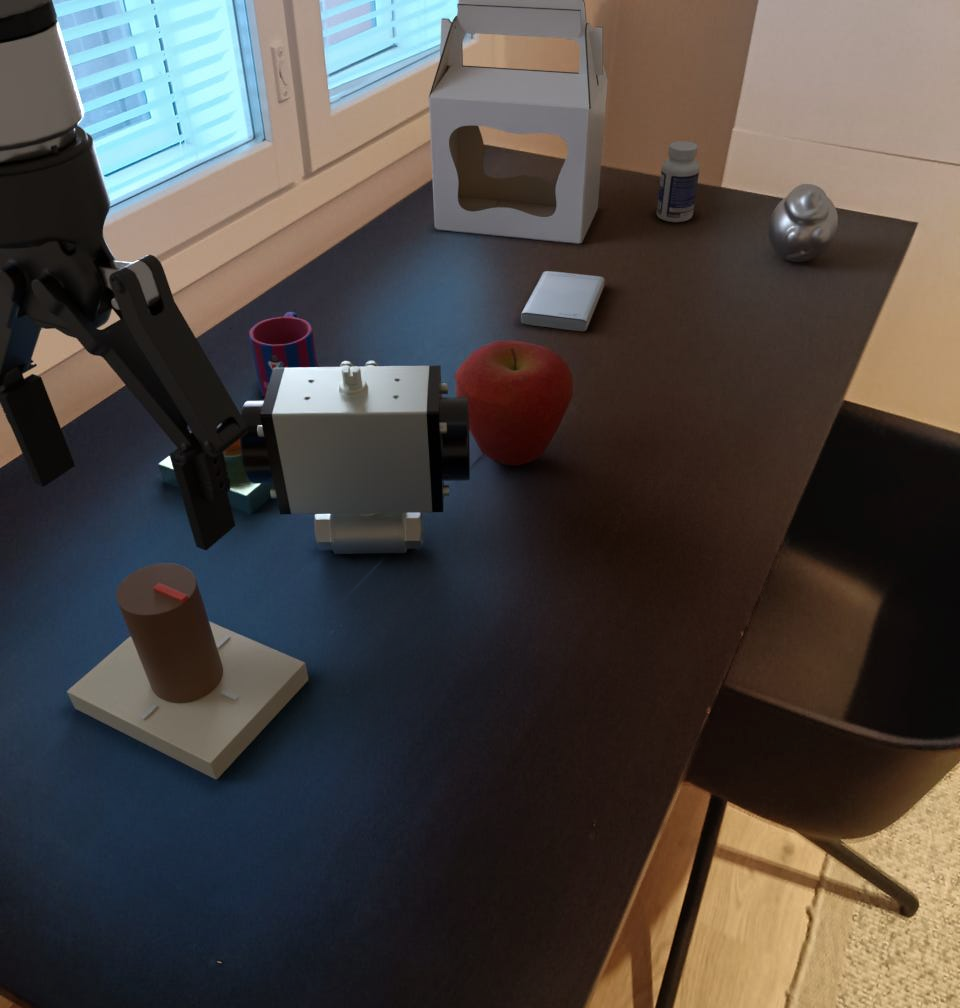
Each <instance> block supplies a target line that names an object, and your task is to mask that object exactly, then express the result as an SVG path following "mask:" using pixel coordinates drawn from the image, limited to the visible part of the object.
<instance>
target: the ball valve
mask: <svg viewBox="0 0 960 1008" xmlns="http://www.w3.org/2000/svg"><path fill="white" fill-rule="evenodd" d="M441 368H442V367H441V365H388V366H387V365H384V366H382V365H380V366H379V364H378V362H376V361H375V360H367V361H366V362H365V364H364V366H358V365H354V364H353V363H352V361H348V360H344V361H342V362H341V363H340V364H339V366H318V367H305V368H273V371H272V375H271V378H270V382H269V385H268V388H267V392H266V395H265V397H264V398H263V399H259V400H258V399H257V400H256V399H255V400H254V399H253V400H246V401H245V402H244V403H243V405H242V408H241V411H240V414H241V416H242V418H243V419H244V421H245V423H246V425H247V427H248V432H247V434H246V435H244V436H243V437H242V438H240V446H241V455H242V461H243V466H244V470H245V473H246V475H247V478H248V479H249V481H250V482H251V483H253V484H268V483H274V487H275V488H271V490H270V494H271V498H270V499H276V500H277V501H276V502H277V507H278V510H279V515H281V516H282V515H314V524H313V526H314V527H313V528H314V538H315V539H314V540H315V543H316V547H317V548H318V549H319V550H320V551H332V552H333V554H334V555H350V554H351V555H352V554H358V555H360V554H406V553H407V551H408V550H414V549H415V550H417V549H418V550H419V549H422V547H423V545H424V517H423V513H444V510H445V509H444V506H445V497H449V496H450V485H448V484H445V482H459V481H461V482H463V481H465V482H466V481H469V480H470V479H471V457H470V454H471V453H470V450H471V449H470V430H469V401H468V398H467V397H457V396H456V397H454V396H453V397H452V396H451V397H443V395H448V393H449V385H448V383H446V382H442V372H441V371H442V370H441Z"/></svg>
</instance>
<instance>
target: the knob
mask: <svg viewBox="0 0 960 1008" xmlns="http://www.w3.org/2000/svg"><path fill="white" fill-rule="evenodd" d="M115 598H116V602H117V605H118V607H119V610H120V612H121V614H122V617H123V620H124V622H125V625H126V627H127V630H128V632H129V635H130V636H131V638H132V640H133V643H134V645H135V648H136V650H137V653H138V655H139V658H140V660H141V663H142V665H143V668H144V671H145V673H146V676H147V678H148V681H149V683H150V686H151V688H152V690H153V692H154V693H155V694H156V695H157V696H158V697H159V698H161V699H163V700H165V701H168V702H174V703H184V702H190V701H194V700H197V699H199V698H202V697H204V696H205V695H207V694H208V693H210V692H211V691H212V690H213V689H215V687H216V686H217V685H218V684H219V682H220V680H221V678H222V675H223V666H222V662H221V659H220V656H219V652H218V649H217V646H216V643H215V639H214V636H213V633H212V629H211V626H210V623H209V622H210V620H209V617H208V613H207V610H206V607H205V603H204V601H203V596H202V594H201V590H200V587H199V583H198V580H197V577H196V575H195V574H194V572H192V571H191V569H189V568H188V567H186V566H184V565H182V564H177V563H172V562H162V563H161V562H160V563H153V564H150V565H146V566H144V567H141V568H139V569H136V570H135V571H133V572H131V573H130V574H129V575H128V576H127V577H125V578H124V579H123V580H122V582H121V583H120V584H119V586H118V588H117V591H116V595H115Z"/></svg>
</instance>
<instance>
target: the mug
mask: <svg viewBox="0 0 960 1008" xmlns="http://www.w3.org/2000/svg"><path fill="white" fill-rule="evenodd" d="M248 337H249V341H250V347H251V352H252V356H253V361H254V367H255V372H256V377H257V382H258V388H259V392H260V394H261V396H262V397H264V398H265V395H266V392H267V388H268V385H269V382H270V378H271V375H272V371H273V368H305V367H319V365H318V359H317V352H316V346H315V339H314V332H313V327H312V325H311V323H310V322H309V321H307V320H305V319H303V318H301V317H298V316H297V314H296V312H294V311H287V312H286V313H285V314H284V316H276V317H275V316H274V317H270V318H267V319H264V320H261V321H259V322H258V323H256V324H254V325H253V326H252V327H251V328H250V330H249V332H248Z"/></svg>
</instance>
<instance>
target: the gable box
mask: <svg viewBox="0 0 960 1008" xmlns="http://www.w3.org/2000/svg"><path fill="white" fill-rule="evenodd" d="M456 8H457V12H456V13H457V14H456V15H455V16H454V18H453V19H452V21H451V20H450V18H444V17H443V18H441V21H440V22H441V23H440V46H439V47H440V49H439V50H440V51H439V62H438V65H437V69H436V72H435V76H434V78H433V82H432V85H431V87H430V88H431V89H430V91H429V95H428V112H429V130H430V131H429V133H430V134H429V135H430V136H429V137H430V155H431V176H432V177H431V178H432V181H431V182H432V197H433V198H432V201H433V203H432V204H433V221H434V222H433V224H434V225H433V226H434V229H435V230H436V231H443V232H452V233H463V234H472V235H473V234H474V235H481V236H482V235H484V236H493V237H496V236H497V237H503V238H513V239H522V240H523V239H524V240H533V241H545V242H555V243H564V244H574V245H581V244H582V243H583V242H584V239H585V237H586V235H587V233H588V231H589V228H590V227H591V225H592V222H593V220H594V218H595V216H596V213H597V212H598V209H599V197H600V184H601V173H602V171H601V170H602V160H603V159H602V158H603V146H604V145H603V144H604V132H605V121H606V107H607V96H608V95H607V93H608V83H609V82H608V81H609V80H608V76H607V72H606V70H605V67H604V26H595V27H594V28H593V25H592V23H591V22H587V11H586V3H585V0H458V3H457V4H456ZM467 34H468V35H473V36H475V34H481V35H499V36H516V37H517V36H518V37H535V38H538V37H539V38H550V39H551V38H552V39H553V38H554V39H566V40H568V41H572V40H575V41H576V43H577V45H578V47H579V67H578V72H574V71H560V70H559V71H558V70H544V69H543V70H542V69H541V70H540V69H527V68H512V67H511V68H509V67H493V66H480V65H479V66H478V65H464V52H463V40H464V38H465V36H466V35H467ZM480 127H486V128H489V129H493V130H498V131H501V132H505V133H508V134H514V135H533V134H548V135H554V136H557V137H559V138H560V139H562V140H563V141H564V142H565V144H566V145H567V146H566V147H567V152H566V157H565V160H564V162H563V165H562V167H561V169H560V172H559V174H558V176H557V180H556V182H555V181H552V180H550V179H547V178H545V177H541V176H538V175H533V174H516V175H511V176H505V177H493V176H489V175H488V174H487V173H486V172H485V170H484V158H485V144H484V143H485V142H484V139H483V136H482V132H481V130H480Z"/></svg>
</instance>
